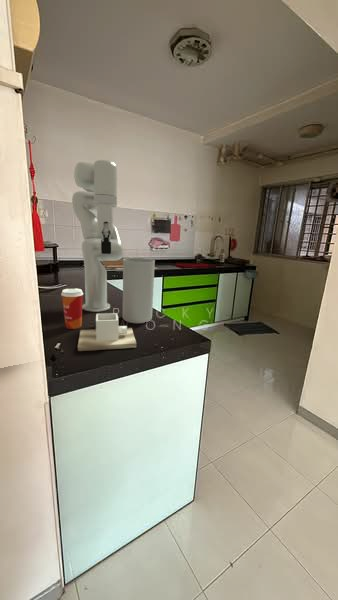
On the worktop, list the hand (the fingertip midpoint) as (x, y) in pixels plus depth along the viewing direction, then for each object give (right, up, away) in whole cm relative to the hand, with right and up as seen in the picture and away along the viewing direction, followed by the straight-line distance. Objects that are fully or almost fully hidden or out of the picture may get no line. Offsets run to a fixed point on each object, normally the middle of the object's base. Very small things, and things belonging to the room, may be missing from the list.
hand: (105, 252), depth 91 cm
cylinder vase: (+9, -25, +17) cm, 32 cm away
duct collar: (+3, -30, -5) cm, 30 cm away
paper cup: (-13, -27, +5) cm, 31 cm away
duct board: (+2, -31, -5) cm, 31 cm away
